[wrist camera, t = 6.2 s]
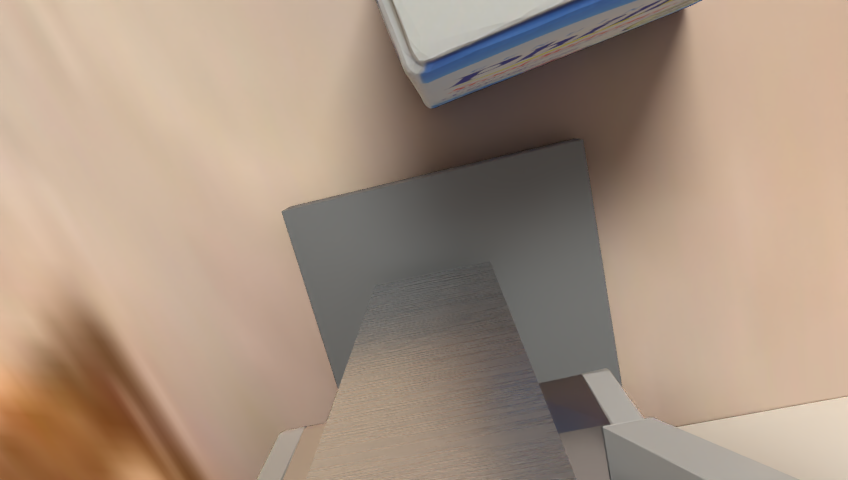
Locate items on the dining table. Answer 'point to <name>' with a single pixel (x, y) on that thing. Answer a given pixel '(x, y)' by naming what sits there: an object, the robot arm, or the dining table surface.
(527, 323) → the pad
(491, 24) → the medicine box
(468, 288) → the peg
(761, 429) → the socket block
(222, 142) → the dining table surface
